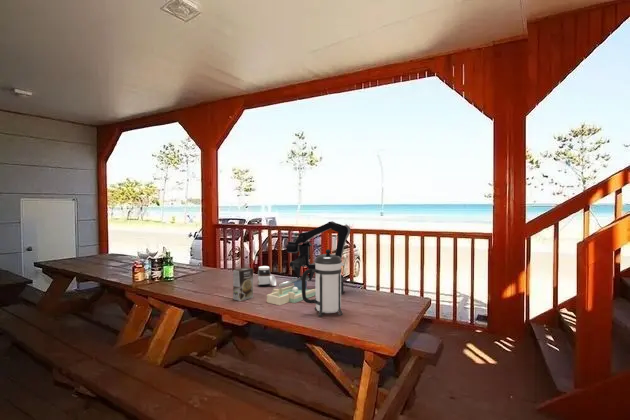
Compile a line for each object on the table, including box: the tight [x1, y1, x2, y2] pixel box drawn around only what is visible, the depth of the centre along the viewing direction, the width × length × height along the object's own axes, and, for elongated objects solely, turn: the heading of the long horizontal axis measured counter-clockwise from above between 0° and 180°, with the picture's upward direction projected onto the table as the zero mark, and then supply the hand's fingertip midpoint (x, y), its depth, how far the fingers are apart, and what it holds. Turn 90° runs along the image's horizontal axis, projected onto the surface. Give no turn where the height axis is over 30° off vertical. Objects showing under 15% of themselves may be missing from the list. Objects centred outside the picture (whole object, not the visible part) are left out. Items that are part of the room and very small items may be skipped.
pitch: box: [266, 284, 316, 306], centre depth 179 cm, size 16×28×5 cm, turn 143°
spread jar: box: [257, 265, 277, 288], centre depth 207 cm, size 12×11×12 cm
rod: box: [277, 274, 309, 290], centre depth 187 cm, size 8×24×6 cm, turn 143°
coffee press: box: [301, 249, 345, 318], centre depth 154 cm, size 17×16×30 cm
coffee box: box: [232, 267, 254, 302], centre depth 178 cm, size 9×6×16 cm
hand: (304, 279), depth 196 cm, fingers open, 9 cm apart
